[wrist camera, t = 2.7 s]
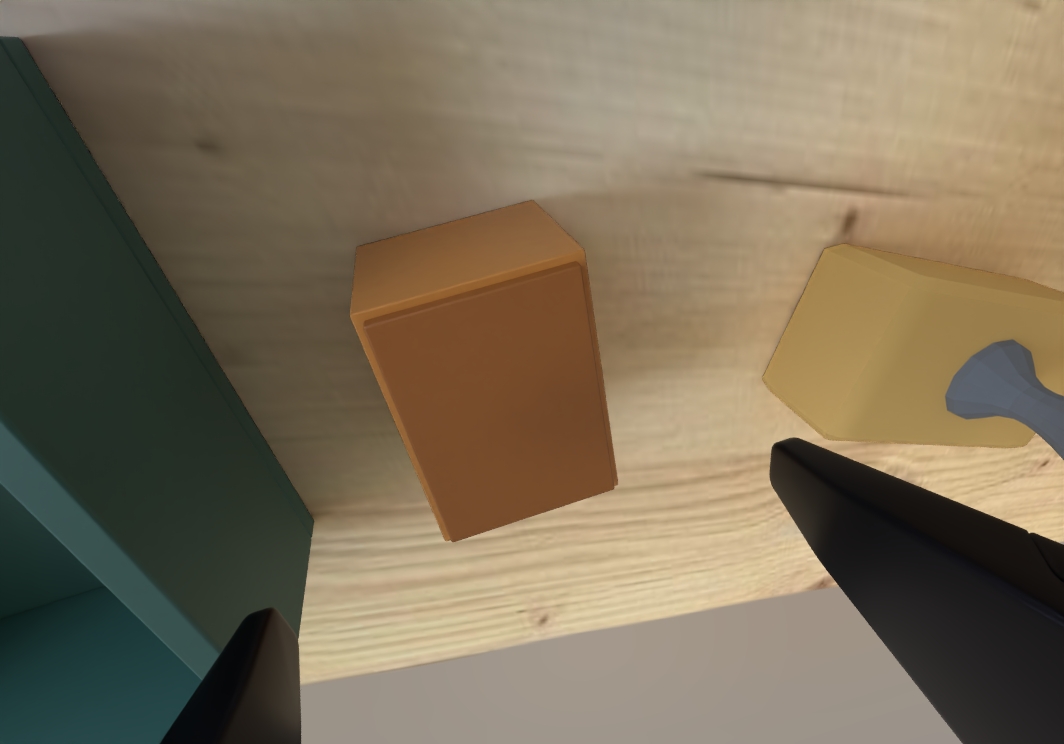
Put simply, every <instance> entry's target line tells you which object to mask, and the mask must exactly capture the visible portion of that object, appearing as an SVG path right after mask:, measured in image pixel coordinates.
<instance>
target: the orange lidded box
mask: <svg viewBox="0 0 1064 744" xmlns="http://www.w3.org/2000/svg"><path fill="white" fill-rule="evenodd" d="M350 318H351V320H352V323H353V325H354V327H355V330H356V332H357V334H358V337H359V339H360V342H361V344H362V346H363V349H364V351H365V353H366V356H367V358H368V360H369V363H370V365H371V367H372V370H373V372H374V374H375V377H376V379H377V382H378V384H379V386H380V389H381V391H382V393H383V396H384V398H385V400H386V403H387V405H388V407H389V410H390V412H391V415H392V417H393V419H394V422H395V424H396V426H397V429H398V431H399V433H400V436H401V438H402V440H403V443H404V445H405V447H406V450H407V452H408V455H409V457H410V459H411V462H412V464H413V466H414V469H415V471H416V473H417V476H418V478H419V480H420V483H421V485H422V487H423V490H424V492H425V495H426V497H427V499H428V502H429V504H430V506H431V509H432V511H433V513H434V516H435V518H436V520H437V523H438V525H439V528H440V530H441V532H442V535H443V537H444V539H445V541H449V540H451V541H452V542H456V541H459V540H462V539H465V538H468V537H471V536H474V535H477V534H480V533H483V532H486V531H489V530H492V529H495V528H498V527H501V526H504V525H507V524H510V523H513V522H516V521H519V520H522V519H525V518H528V517H531V516H534V515H537V514H540V513H543V512H546V511H550V510H553V509H556V508H559V507H562V506H565V505H568V504H571V503H574V502H577V501H580V500H583V499H586V498H589V497H592V496H595V495H598V494H601V493H604V492H607V491H610V490H613V489H614V486H616V485H618V479H617V472H616V465H615V458H614V451H613V444H612V437H611V430H610V423H609V416H608V409H607V402H606V395H605V388H604V381H603V374H602V367H601V360H600V353H599V347H598V340H597V333H596V326H595V319H594V312H593V305H592V298H591V291H590V284H589V277H588V270H587V263H586V256H585V250H584V249H583V248H582V247H581V246H580V245H579V244H578V243H577V242H576V241H575V240H574V239H573V238H572V237H571V236H570V235H569V234H568V233H566V232H565V231H564V230H563V229H562V228H561V227H560V226H559V225H558V224H557V223H556V222H555V221H554V220H553V219H552V218H551V217H550V216H549V215H548V214H547V213H546V212H545V211H544V210H543V209H542V208H540V207H539V206H538V205H537V204H536V203H535V202H534V201H533V200H530V201H527V202H523V203H519V204H515V205H512V206H508V207H504V208H500V209H497V210H493V211H489V212H486V213H482V214H478V215H474V216H471V217H467V218H463V219H459V220H456V221H452V222H448V223H444V224H441V225H437V226H433V227H429V228H426V229H422V230H418V231H414V232H411V233H407V234H403V235H400V236H396V237H392V238H388V239H385V240H381V241H377V242H373V243H370V244H366V245H362V246H358V247H357V248H356V258H355V268H354V278H353V288H352V299H351V309H350Z"/></svg>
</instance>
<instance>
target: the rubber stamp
mask: <svg viewBox="0 0 1064 744" xmlns="http://www.w3.org/2000/svg"><path fill="white" fill-rule="evenodd" d="M762 380H763V381H764V383H765V384H766V385H767V387H768V388H769V390H770V391H771V392H772V393H773V394H774V395H775V396H776V397H778V398H779V399H780V400H781V401H782V402H783V403H785V404H786V405H787V406H788V407H789V408H790V409H791V410H793V411H794V412H795V413H796V414H797V415H798V416H800V417H801V418H802V419H803V420H804V421H805V422H806V423H808V424H809V425H810V426H811V427H812V428H813V429H815V430H816V431H817V432H818V433H819V434H820V435H822V436H823V437H824V438H825V439H828V440H836V441H858V442H880V443H902V444H924V445H946V446H968V447H990V448H1015V447H1023V446H1025V445H1027V444H1028V442H1029V441H1030V440H1031V439H1032V437H1033V436H1034V435H1035V434H1036V433H1037V434H1038V435H1039V436H1041V437H1042V438H1043V439H1044V440H1045V441H1046V442H1047V443H1048V444H1049V445H1050V446H1051V447H1052V448H1053V449H1054V450H1055V451H1056V452H1057V453H1058V454H1059V455H1060V456H1061V458H1062V459H1063V460H1064V293H1063V292H1061V291H1058V290H1055V289H1052V288H1049V287H1046V286H1044V285H1041V284H1038V283H1035V282H1032V281H1029V280H1026V279H1021V278H1016V277H1011V276H1006V275H1001V274H996V273H991V272H986V271H981V270H976V269H971V268H966V267H960V266H955V265H950V264H945V263H940V262H935V261H930V260H925V259H920V258H915V257H910V256H905V255H900V254H895V253H890V252H885V251H879V250H874V249H869V248H864V247H859V246H854V245H849V244H840V245H837V246H833V247H829V248H825V249H824V251H823V253H822V255H821V257H820V259H819V261H818V263H817V265H816V268H815V270H814V272H813V274H812V276H811V278H810V280H809V282H808V284H807V286H806V288H805V290H804V293H803V295H802V297H801V299H800V301H799V303H798V305H797V307H796V309H795V311H794V313H793V315H792V317H791V320H790V322H789V324H788V326H787V328H786V330H785V332H784V334H783V336H782V338H781V340H780V342H779V344H778V347H777V349H776V351H775V353H774V355H773V357H772V359H771V361H770V363H769V365H768V367H767V369H766V372H765V374H764V376H763V378H762Z"/></svg>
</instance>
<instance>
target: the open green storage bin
mask: <svg viewBox="0 0 1064 744" xmlns="http://www.w3.org/2000/svg"><path fill="white" fill-rule="evenodd" d="M313 526H314V520H313V518H312V517H311V515H310V514H309V512H308V510H307V509H306V507H305V505H304V504H303V502H302V500H301V499H300V497H299V495H298V494H297V492H296V491H295V489H294V487H293V486H292V484H291V482H290V481H289V479H288V477H287V476H286V474H285V472H284V471H283V469H282V468H281V466H280V464H279V463H278V461H277V459H276V458H275V456H274V454H273V453H272V451H271V449H270V448H269V446H268V445H267V443H266V441H265V440H264V438H263V436H262V435H261V433H260V431H259V430H258V428H257V427H256V425H255V423H254V422H253V420H252V418H251V417H250V415H249V413H248V412H247V410H246V408H245V407H244V405H243V404H242V402H241V400H240V399H239V397H238V395H237V394H236V392H235V390H234V389H233V387H232V385H231V384H230V382H229V381H228V379H227V377H226V376H225V374H224V372H223V371H222V369H221V367H220V366H219V364H218V363H217V361H216V359H215V358H214V356H213V354H212V353H211V351H210V349H209V348H208V346H207V344H206V343H205V341H204V340H203V338H202V336H201V335H200V333H199V331H198V330H197V328H196V326H195V325H194V323H193V321H192V320H191V318H190V317H189V315H188V313H187V312H186V310H185V308H184V307H183V305H182V303H181V302H180V300H179V298H178V297H177V295H176V294H175V292H174V290H173V289H172V287H171V285H170V284H169V282H168V280H167V279H166V277H165V276H164V274H163V272H162V271H161V269H160V267H159V266H158V264H157V262H156V261H155V259H154V257H153V256H152V254H151V253H150V251H149V249H148V248H147V246H146V244H145V243H144V241H143V239H142V238H141V236H140V234H139V233H138V231H137V230H136V228H135V226H134V225H133V223H132V221H131V220H130V218H129V216H128V215H127V213H126V211H125V210H124V208H123V207H122V205H121V203H120V202H119V200H118V198H117V197H116V195H115V193H114V192H113V190H112V189H111V187H110V185H109V184H108V182H107V180H106V179H105V177H104V175H103V174H102V172H101V170H100V169H99V167H98V166H97V164H96V162H95V161H94V159H93V157H92V156H91V154H90V152H89V151H88V149H87V147H86V146H85V144H84V143H83V141H82V139H81V138H80V136H79V134H78V133H77V131H76V129H75V128H74V126H73V124H72V123H71V121H70V120H69V118H68V116H67V115H66V113H65V111H64V110H63V108H62V106H61V105H60V103H59V102H58V100H57V98H56V97H55V95H54V93H53V92H52V90H51V88H50V87H49V85H48V83H47V82H46V80H45V79H44V77H43V75H42V74H41V72H40V70H39V69H38V67H37V65H36V64H35V62H34V60H33V59H32V57H31V56H30V54H29V52H28V51H27V49H26V47H25V46H24V44H23V42H22V41H21V40H20V39H19V38H17V37H2V36H0V744H159V743H160V742H161V741H162V739H163V738H164V736H165V735H166V733H167V732H168V730H169V729H170V727H171V726H172V724H173V723H174V721H175V720H176V718H177V717H178V715H179V714H180V712H181V711H182V710H183V708H184V707H185V705H186V704H187V702H188V701H189V699H190V698H191V696H192V695H193V693H194V692H195V690H196V689H197V687H198V686H199V684H200V683H201V681H202V680H203V679H204V677H205V676H206V674H207V673H208V671H209V670H210V668H211V667H212V665H213V664H214V662H215V661H216V659H217V658H218V656H219V655H220V653H221V652H222V650H223V649H224V648H225V646H226V645H227V643H228V642H229V640H230V639H231V637H232V636H233V634H234V633H235V631H236V630H237V628H238V627H239V625H240V624H241V622H242V621H243V620H244V618H245V617H246V616H247V615H249V614H251V613H253V612H256V611H259V610H262V609H265V608H268V607H274V608H276V609H277V610H278V611H279V612H280V613H281V615H282V616H283V617H284V619H285V620H286V621H287V623H288V624H289V625H290V627H291V628H292V629H293V631H294V632H295V634H296V636H297V639H298V638H299V630H300V623H301V615H302V607H303V600H304V592H305V585H306V577H307V570H308V562H309V555H310V547H311V537H312V534H313Z"/></svg>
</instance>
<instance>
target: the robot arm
mask: <svg viewBox="0 0 1064 744" xmlns="http://www.w3.org/2000/svg"><path fill="white" fill-rule="evenodd" d="M769 475H770V481H771V484H772V486H773V488H774V490H775V491H776V493H777V495H778V496H779V498H780V499H781V501H782V503H783V504H784V506H785V507H786V509H787V511H788V512H789V514H790V515H791V517H792V518H793V520H794V522H795V523H796V525H797V526H798V528H799V530H800V531H801V533H802V534H803V536H804V538H805V539H806V541H807V542H808V544H809V545H810V547H811V549H812V550H813V552H814V553H815V555H816V556H817V558H818V559H819V560H820V562H821V563H822V564H823V566H824V567H825V568H826V570H827V571H828V572H829V574H830V575H831V576H832V578H833V579H834V580H835V581H836V583H837V584H838V585H839V586H840V588H841V589H842V590H843V592H844V593H845V594H846V595H847V597H848V598H849V599H850V600H851V602H852V603H853V604H854V606H855V607H856V608H857V609H858V611H859V612H860V613H861V614H862V616H863V617H864V618H865V620H866V621H867V622H868V623H869V625H870V626H871V627H872V629H873V630H874V631H875V632H876V634H877V635H878V636H879V638H880V639H881V640H882V641H883V643H884V644H885V645H886V646H887V648H888V649H889V650H890V651H891V653H892V654H893V655H894V656H895V658H896V659H897V660H898V662H899V663H900V664H901V666H902V667H903V668H904V669H905V671H906V672H907V673H908V675H909V676H910V677H911V678H912V680H913V681H914V682H915V683H916V685H917V686H918V687H919V689H920V690H921V691H922V692H923V694H924V695H925V696H926V697H927V699H928V700H929V701H930V702H931V704H932V705H933V706H934V708H935V709H936V710H937V712H938V713H939V714H940V715H941V717H942V718H943V719H944V720H945V722H946V723H947V724H948V726H949V727H950V728H951V729H952V730H953V732H954V733H955V734H956V736H957V737H958V738H959V739H960V741H961V742H962V743H963V744H1064V545H1063V544H1060V543H1058V542H1055V541H1053V540H1050V539H1048V538H1045V537H1043V536H1040V535H1038V534H1035V533H1028V531H1027V530H1025V529H1023V528H1020V527H1018V526H1015V525H1013V524H1010V523H1008V522H1005V521H1003V520H1000V519H998V518H995V517H993V516H990V515H988V514H985V513H983V512H981V511H978V510H976V509H973V508H971V507H968V506H966V505H963V504H961V503H958V502H956V501H953V500H951V499H948V498H946V497H943V496H941V495H938V494H936V493H933V492H931V491H928V490H926V489H923V488H921V487H919V486H916V485H914V484H911V483H909V482H906V481H904V480H901V479H899V478H896V477H894V476H891V475H889V474H886V473H884V472H881V471H879V470H876V469H874V468H871V467H869V466H866V465H864V464H861V463H859V462H857V461H854V460H852V459H849V458H847V457H844V456H842V455H839V454H837V453H834V452H832V451H829V450H827V449H824V448H822V447H819V446H817V445H814V444H812V443H809V442H807V441H804V440H802V439H799V438H789V439H786V440H783V441H780V442H776V443H775V444H774V445H773V446H772V450H771V462H770V474H769ZM300 708H301V707H300V669H299V644H298V639H297V636H296V634H295V632H294V631H293V629H292V628H291V627H290V625H289V624H288V623H287V621H286V620H285V619H284V617H283V616H282V615H281V613H280V612H279V611H278V610H277V609H276V608H274V607H268V608H265V609H262V610H259V611H256V612H253V613H251V614H249V615H247V616H246V617H245V618H244V620H243V621H242V622H241V624H240V625H239V627H238V628H237V630H236V631H235V633H234V634H233V636H232V637H231V639H230V640H229V642H228V643H227V645H226V646H225V648H224V649H223V650H222V652H221V653H220V655H219V656H218V658H217V659H216V661H215V662H214V664H213V665H212V667H211V668H210V670H209V671H208V673H207V674H206V676H205V677H204V679H203V680H202V681H201V683H200V684H199V686H198V687H197V689H196V690H195V692H194V693H193V695H192V696H191V698H190V699H189V701H188V702H187V704H186V705H185V707H184V708H183V710H182V711H181V712H180V714H179V715H178V717H177V718H176V720H175V721H174V723H173V724H172V726H171V727H170V729H169V730H168V732H167V733H166V735H165V736H164V738H163V739H162V741H161V742H160V743H159V744H301V709H300Z"/></svg>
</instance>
